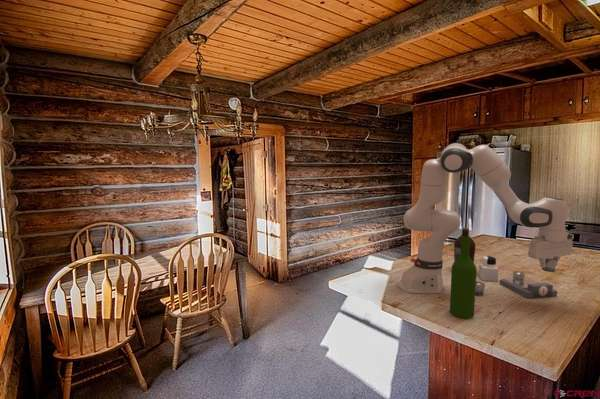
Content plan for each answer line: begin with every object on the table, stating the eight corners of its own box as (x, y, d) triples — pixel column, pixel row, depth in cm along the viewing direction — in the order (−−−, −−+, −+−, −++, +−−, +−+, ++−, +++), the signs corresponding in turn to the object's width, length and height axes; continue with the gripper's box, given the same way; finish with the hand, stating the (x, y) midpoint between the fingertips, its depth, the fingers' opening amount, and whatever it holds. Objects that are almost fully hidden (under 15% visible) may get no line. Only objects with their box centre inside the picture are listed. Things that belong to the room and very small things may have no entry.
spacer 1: (470, 292, 150) (472, 282, 149) (474, 290, 153) (475, 280, 153) (481, 296, 147) (482, 286, 146) (484, 293, 150) (486, 283, 149)
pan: (522, 289, 148) (522, 287, 148) (503, 280, 160) (503, 278, 160) (547, 287, 150) (547, 286, 150) (526, 278, 162) (526, 276, 162)
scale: (528, 298, 144) (529, 287, 143) (499, 284, 161) (500, 273, 160) (557, 296, 146) (558, 285, 145) (525, 282, 163) (526, 272, 163)
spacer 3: (549, 272, 134) (550, 261, 133) (539, 269, 138) (540, 257, 137) (557, 271, 135) (558, 260, 134) (547, 268, 139) (548, 257, 139)
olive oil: (463, 267, 186) (465, 225, 183) (478, 273, 176) (481, 229, 173) (448, 269, 183) (450, 227, 180) (463, 276, 173) (465, 231, 170)
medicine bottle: (493, 277, 171) (494, 255, 169) (497, 282, 164) (499, 259, 163) (478, 276, 173) (479, 254, 171) (482, 280, 166) (483, 258, 165)
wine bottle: (466, 308, 136) (470, 233, 132) (478, 318, 127) (483, 239, 123) (445, 308, 135) (449, 234, 131) (456, 319, 126) (460, 239, 122)
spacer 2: (526, 284, 152) (527, 274, 152) (517, 284, 152) (517, 274, 151) (519, 280, 157) (520, 270, 156) (510, 280, 156) (511, 271, 156)
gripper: (539, 238, 129) (537, 271, 131) (576, 235, 134) (573, 266, 136) (525, 235, 135) (522, 266, 137) (561, 231, 140) (558, 262, 142)
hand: (548, 266), depth 136 cm, fingers closed on spacer 3, 4 cm apart
